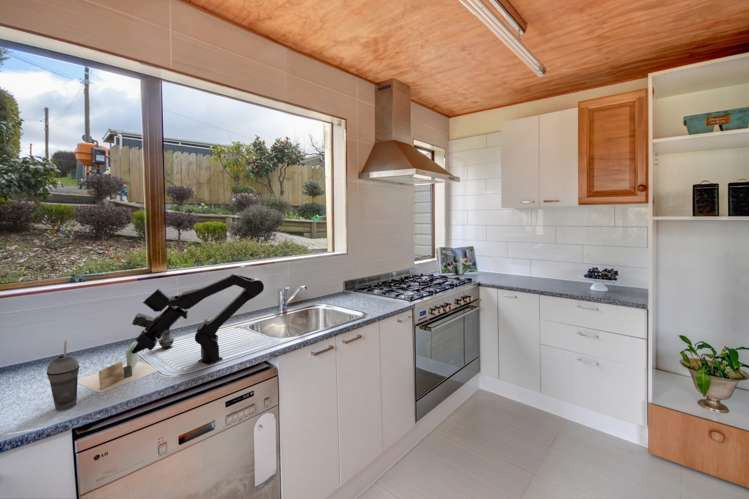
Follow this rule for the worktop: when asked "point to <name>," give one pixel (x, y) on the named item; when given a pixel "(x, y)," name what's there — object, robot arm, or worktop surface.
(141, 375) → the card
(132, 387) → the worktop surface
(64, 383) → the beverage cup
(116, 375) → the tan dark-tipped bar
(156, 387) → the worktop surface
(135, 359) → the fence panel
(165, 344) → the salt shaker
